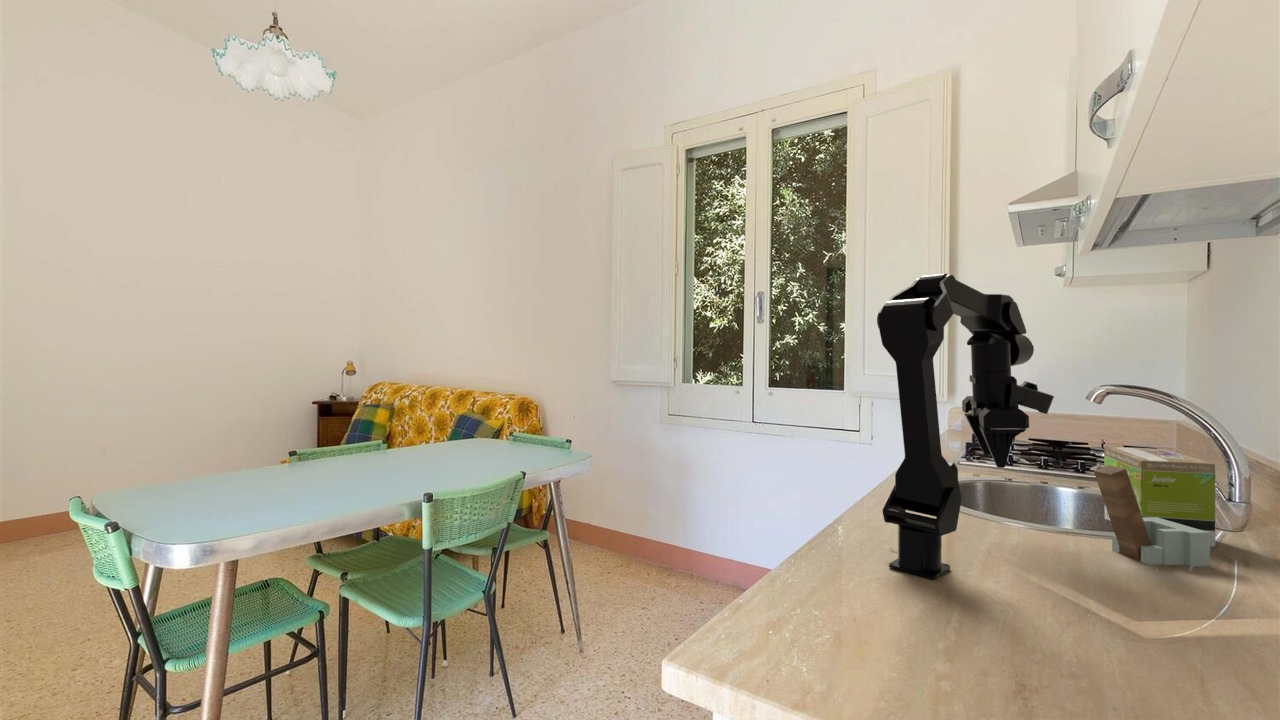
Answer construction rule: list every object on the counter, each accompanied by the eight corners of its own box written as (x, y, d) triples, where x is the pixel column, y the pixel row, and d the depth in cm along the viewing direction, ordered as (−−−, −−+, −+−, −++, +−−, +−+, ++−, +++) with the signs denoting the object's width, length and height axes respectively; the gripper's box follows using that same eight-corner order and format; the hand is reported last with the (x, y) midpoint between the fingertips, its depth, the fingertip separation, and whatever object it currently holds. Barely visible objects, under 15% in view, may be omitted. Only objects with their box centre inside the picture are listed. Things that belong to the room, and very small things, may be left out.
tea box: (1101, 523, 109) (1102, 445, 109) (1168, 528, 106) (1168, 448, 106) (1140, 547, 95) (1141, 457, 95) (1218, 555, 92) (1219, 461, 92)
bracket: (1145, 575, 82) (1145, 533, 82) (1097, 556, 90) (1097, 518, 90) (1214, 574, 83) (1214, 532, 83) (1160, 555, 91) (1160, 517, 91)
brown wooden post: (1140, 563, 85) (1110, 474, 85) (1122, 556, 88) (1093, 470, 88) (1156, 557, 85) (1125, 468, 85) (1137, 550, 88) (1108, 465, 88)
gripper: (1067, 373, 87) (1070, 476, 88) (1029, 364, 104) (1032, 449, 105) (982, 376, 90) (986, 474, 91) (960, 366, 108) (963, 448, 109)
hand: (994, 460), depth 99 cm, fingers open, 9 cm apart
